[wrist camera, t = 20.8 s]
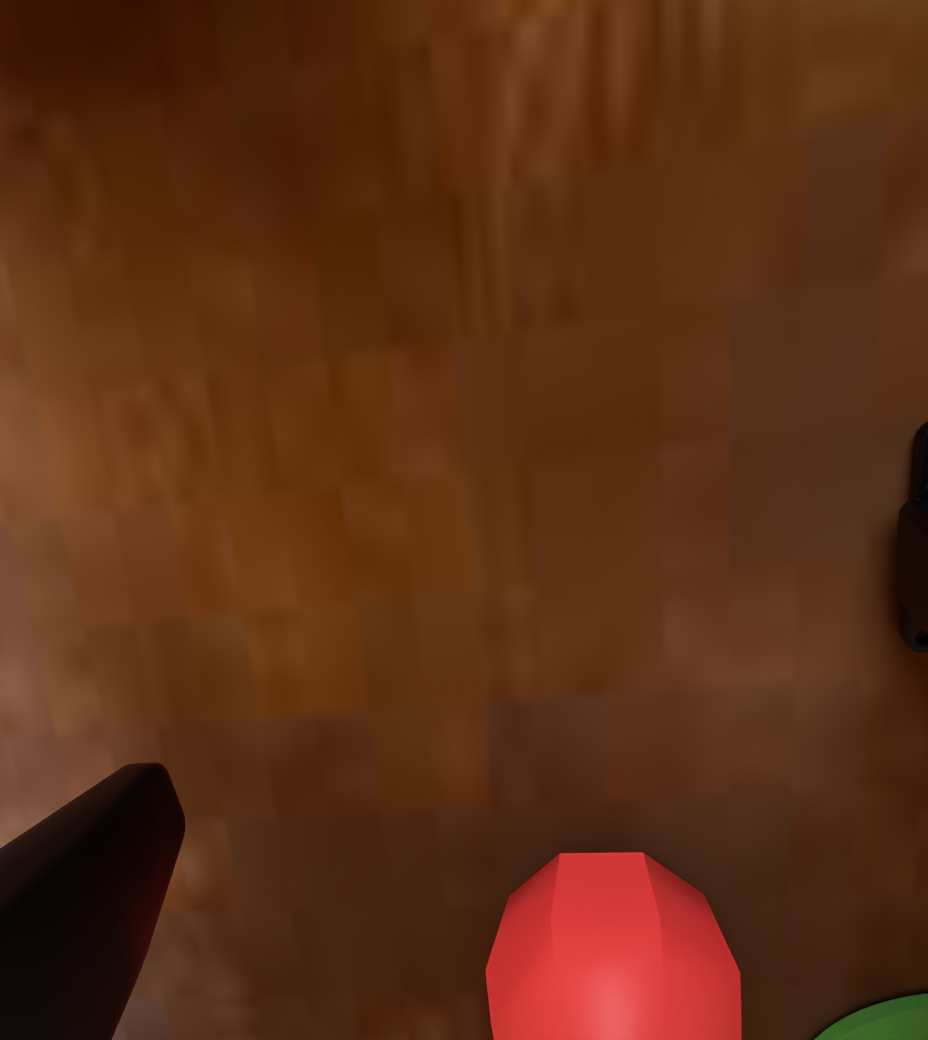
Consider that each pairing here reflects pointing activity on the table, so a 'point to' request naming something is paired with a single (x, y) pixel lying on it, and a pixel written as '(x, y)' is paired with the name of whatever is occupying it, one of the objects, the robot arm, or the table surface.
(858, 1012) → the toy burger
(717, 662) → the table surface
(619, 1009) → the apple
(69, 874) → the robot arm
